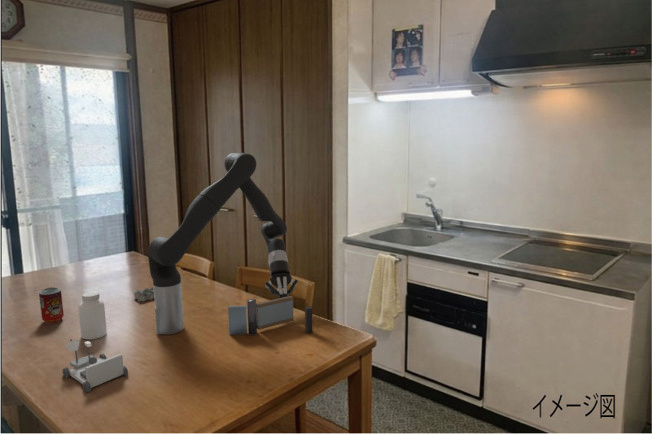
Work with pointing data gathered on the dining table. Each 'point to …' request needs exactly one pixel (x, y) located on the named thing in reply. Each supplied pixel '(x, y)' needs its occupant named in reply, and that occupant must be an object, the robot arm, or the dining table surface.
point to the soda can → (51, 305)
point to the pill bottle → (92, 316)
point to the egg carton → (144, 294)
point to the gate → (274, 312)
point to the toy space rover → (94, 367)
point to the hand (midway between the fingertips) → (284, 304)
